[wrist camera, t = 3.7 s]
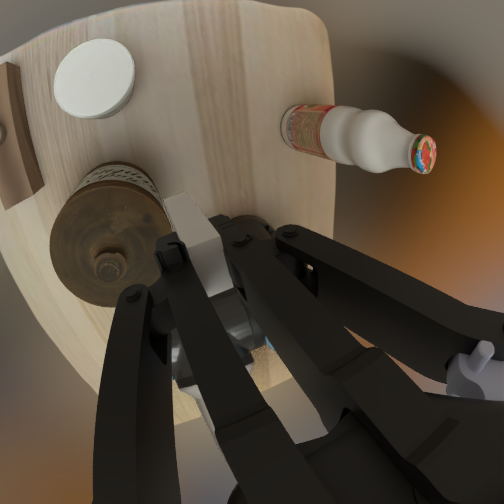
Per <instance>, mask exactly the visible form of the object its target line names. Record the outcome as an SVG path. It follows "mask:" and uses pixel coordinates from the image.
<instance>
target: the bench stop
mask: <svg viewBox="0 0 504 504" xmlns="http://www.w3.org/2000/svg"><path fill="white" fill-rule="evenodd" d="M43 186H44V182H43V179H42V176H41V172H40V169H39V166H38V162H37V159H36V155H35V152H34V148H33V144H32V140H31V136H30V131H29V127H28V122H27V117H26V111H25V106H24V99H23V93H22V85H21V76H20V67H18V66H16V65H14V64H11V63H9V62H4V63H3V64H1V65H0V198H1V200H2V203H3V206H4V209H5V210H7V209H9V208H11V207H12V206H14V205H16V204H18V203H19V202H21V201H23V200H25V199H27V198H29V197H31V196H32V195H34V194H35V193H36V192H37V191H39V190H40V189H41V188H42V187H43Z"/></svg>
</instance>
